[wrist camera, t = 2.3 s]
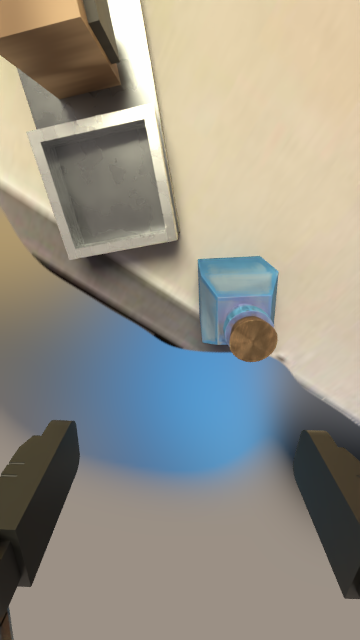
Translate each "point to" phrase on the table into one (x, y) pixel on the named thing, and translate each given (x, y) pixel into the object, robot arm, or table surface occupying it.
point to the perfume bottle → (238, 305)
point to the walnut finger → (61, 44)
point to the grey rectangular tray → (107, 152)
